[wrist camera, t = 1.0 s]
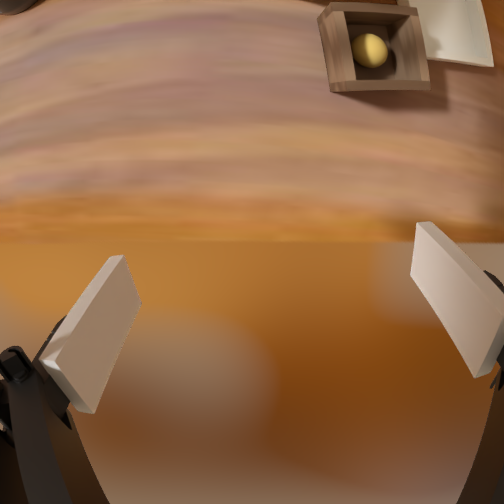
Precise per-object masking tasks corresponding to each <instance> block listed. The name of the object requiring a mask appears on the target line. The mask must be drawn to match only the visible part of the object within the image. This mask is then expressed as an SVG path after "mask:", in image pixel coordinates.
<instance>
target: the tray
mask: <svg viewBox="0 0 504 504" xmlns="http://www.w3.org/2000/svg"><path fill="white" fill-rule="evenodd" d="M397 4H398V5H400V6H408V7H416V8H417V10H418V15H419V19H420V24H421V29H422V34H423V39H424V44H425V50H426V56H427V60H436V61H445V62H454V63H461V64H468V65H474V66H480V67H494V63H493V56H492V50H491V44H490V38H489V33H488V28H487V23H486V19H485V15H484V11H483V7H482V3H481V0H397Z"/></svg>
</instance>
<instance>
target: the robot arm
mask: <svg viewBox="0 0 504 504" xmlns="http://www.w3.org/2000/svg"><path fill="white" fill-rule="evenodd" d="M37 1H38V0H0V15H15V14H18V13H20V12H22V11H24V10H26V9H27V8H29V7H30V6H32V5H33V4H34V3H35V2H37ZM410 276H411V277H412V278H413V280H414V281H415V282H416V284H417V285H418V287H419V289H420V290H421V292H422V293H423V294H424V296H425V297H426V299H427V300H428V302H429V303H430V305H431V307H432V308H433V309H434V311H435V313H436V314H437V316H438V317H439V319H440V320H441V322H442V324H443V325H444V326H445V328H446V330H447V332H448V333H449V335H450V337H451V338H452V340H453V341H454V343H455V345H456V347H457V348H458V350H459V352H460V353H461V355H462V357H463V359H464V360H465V362H466V364H467V366H468V367H469V369H470V371H471V373H472V375H473V377H474V378H477V377H480V376H482V375H485V374H488V373H490V372H491V370H492V368H493V366H494V365H495V363H496V361H497V362H498V363H499V365H500V366H501V368H500V369H499V371H498V373H497V375H496V377H495V378H494V380H493V382H492V383H491V386H490V388H493V386H494V384H495V388H494V393H493V398H492V402H491V406H490V411H489V414H488V418H487V422H486V426H485V429H484V433H483V436H482V439H481V442H480V445H479V448H478V451H477V454H476V457H475V460H474V462H473V466H472V468H471V471H470V473H469V476H468V478H467V481H466V483H465V485H464V488H463V490H462V492H461V495H460V497H459V499H458V501H457V503H456V504H504V286H503V284H502V283H501V282H500V281H499V280H498V279H497V278H496V277H495V276H494V275H492V274H491V273H489V272H487V271H486V270H485V271H482V270H481V269H480V268H479V267H478V266H477V265H476V264H475V263H474V262H473V261H472V260H471V259H470V258H469V257H468V256H467V255H466V254H465V253H464V252H463V251H462V250H461V249H460V248H459V247H458V246H457V245H456V244H455V243H454V242H453V241H452V240H451V239H450V238H449V237H448V236H447V235H445V234H444V233H443V232H442V231H441V230H440V229H439V228H438V227H437V226H436V225H434V224H433V223H432V222H431V221H426V222H417V223H416V234H415V243H414V252H413V260H412V266H411V273H410ZM141 304H142V302H141V300H140V297H139V295H138V292H137V289H136V287H135V284H134V281H133V279H132V276H131V273H130V270H129V267H128V265H127V262H126V259H125V256H124V255H119V256H111V257H109V259H108V260H107V261H106V263H105V264H104V265H103V267H102V268H101V269H100V270H99V272H98V273H97V275H96V276H95V277H94V278H93V280H92V281H91V282H90V284H89V285H88V286H87V288H86V289H85V291H84V292H83V294H82V295H81V296H80V298H79V299H78V300H77V302H76V303H75V305H74V306H73V307H72V309H71V310H70V312H69V314H68V315H66V316H65V317H64V318H62V319H61V320H60V321H59V322H58V323H57V324H56V326H55V327H54V329H53V330H52V333H51V334H50V335H49V336H48V338H47V341H45V342H44V344H43V345H42V347H41V349H40V350H39V352H38V353H37V355H36V356H35V358H34V360H33V361H32V362H31V361H30V360H29V358H28V357H27V355H26V354H25V352H24V351H23V349H22V348H21V347H19V346H12V347H9V348H7V349H6V350H4V351H3V352H2V353H1V354H0V374H1V375H2V376H3V377H4V379H2V380H0V423H1V424H2V425H3V430H0V504H110V503H109V501H108V500H107V498H106V496H105V494H104V492H103V490H102V488H101V486H100V484H99V481H98V480H97V477H96V475H95V473H94V471H93V468H92V466H91V464H90V462H89V460H88V457H87V455H86V452H85V450H84V447H83V445H82V442H81V440H80V437H79V434H78V432H77V429H76V426H75V423H74V421H73V418H72V415H71V413H70V411H69V410H68V409H67V407H68V405H69V403H70V402H71V403H72V405H73V406H74V407H75V408H76V409H77V411H80V412H86V413H92V414H94V413H95V410H96V408H97V405H98V403H99V400H100V398H101V395H102V392H103V390H104V388H105V385H106V383H107V380H108V378H109V376H110V373H111V371H112V369H113V366H114V364H115V362H116V359H117V357H118V355H119V352H120V350H121V348H122V345H123V343H124V341H125V339H126V337H127V334H128V332H129V330H130V328H131V326H132V324H133V321H134V319H135V317H136V315H137V313H138V311H139V309H140V307H141Z"/></svg>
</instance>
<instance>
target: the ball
mask: <svg viewBox="0 0 504 504" xmlns="http://www.w3.org/2000/svg"><path fill="white" fill-rule="evenodd" d="M351 51H352V56H353V58H354V59H355V60H356V61H357V62H358V63H359V64H360V65H362V66H364V67H368V68H375V67H378V66H380V65H382V64H383V63H384V62H385V61H386V59H387V55H388V50H387V47H386V44H385V43H384V41H383V40H382V39H381V38H379V37H378V36H376V35H373V34H368V33H366V34H361V35H359V36H357V37H356V38H355V39H354V40H353V42H352V44H351Z"/></svg>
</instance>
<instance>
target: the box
mask: <svg viewBox="0 0 504 504" xmlns="http://www.w3.org/2000/svg"><path fill="white" fill-rule="evenodd" d="M317 21H318V26H319V31H320V36H321V41H322V46H323V51H324V57H325V62H326V68H327V74H328V80H329V86H330V92H339V91H363V90H426V91H431V86H430V78H429V70H428V63H427V56H426V50H425V44H424V39H423V34H422V29H421V24H420V19H419V15H418V10H417V8H416V7H408V6H400V5H390V4H378V3H359V2H330V4H329V5H328V6H327V7H326V8H325V10H324V11H323V12H322V13H321V14H320V16H319V17H318V18H317ZM366 33H368V34H373V35H376V36H378V37H379V38H381V39H382V40H383V41H384V43H385V44H386V47H387V50H388V55H387V59H386V61H385V62H384V63H383V64H382V65H380V66H378V67H375V68H368V67H364V66H362V65H360V64H359V63H358V62H357V61H356V60H355V59H354V58H353V56H352V51H351V44H352V42H353V40H354V39H355V38H356V37H357V36H359V35H361V34H366Z"/></svg>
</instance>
